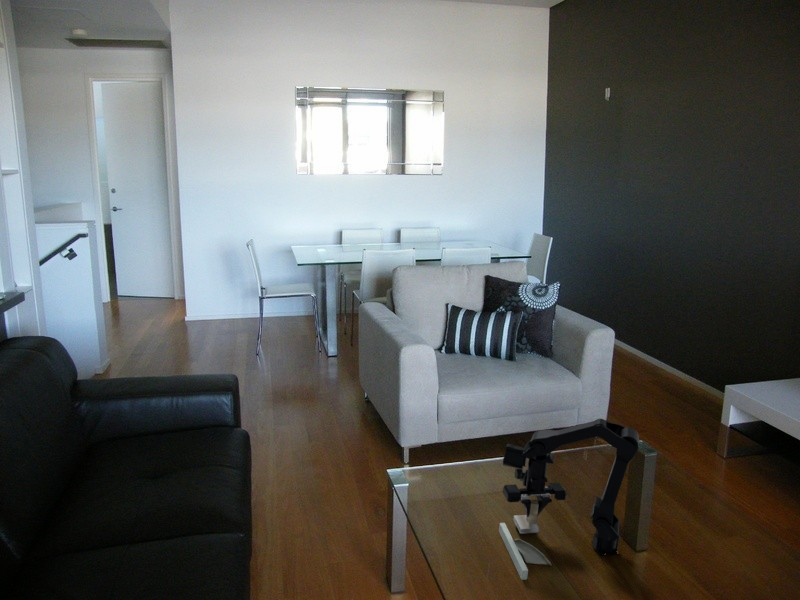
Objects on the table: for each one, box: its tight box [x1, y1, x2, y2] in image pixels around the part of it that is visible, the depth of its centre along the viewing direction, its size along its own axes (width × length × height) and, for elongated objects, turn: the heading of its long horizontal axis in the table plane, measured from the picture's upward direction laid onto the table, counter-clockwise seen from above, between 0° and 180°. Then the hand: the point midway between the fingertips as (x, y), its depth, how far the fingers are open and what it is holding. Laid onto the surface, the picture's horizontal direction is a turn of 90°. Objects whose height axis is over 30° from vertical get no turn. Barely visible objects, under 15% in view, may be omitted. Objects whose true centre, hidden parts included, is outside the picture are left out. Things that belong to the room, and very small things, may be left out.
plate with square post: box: [513, 499, 540, 534], centre depth 204 cm, size 6×7×9 cm
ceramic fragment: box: [513, 538, 553, 567], centre depth 193 cm, size 14×5×4 cm, turn 42°
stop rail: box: [498, 522, 529, 581], centre depth 194 cm, size 2×22×3 cm, turn 9°
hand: (531, 516), depth 205 cm, fingers closed on plate with square post, 2 cm apart
